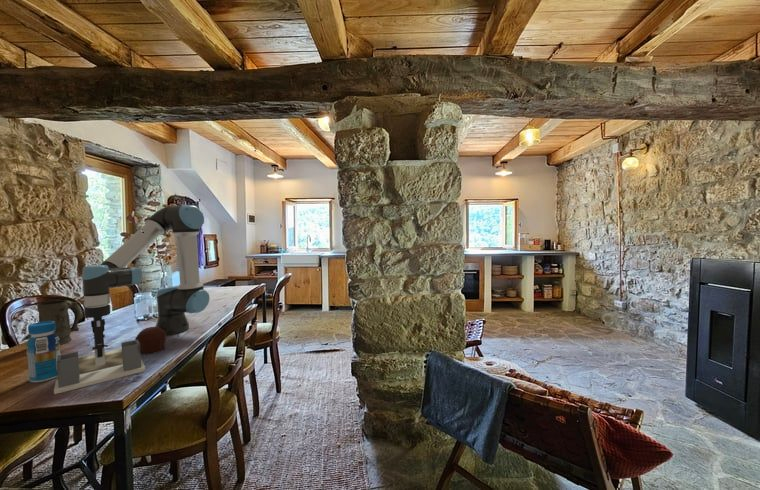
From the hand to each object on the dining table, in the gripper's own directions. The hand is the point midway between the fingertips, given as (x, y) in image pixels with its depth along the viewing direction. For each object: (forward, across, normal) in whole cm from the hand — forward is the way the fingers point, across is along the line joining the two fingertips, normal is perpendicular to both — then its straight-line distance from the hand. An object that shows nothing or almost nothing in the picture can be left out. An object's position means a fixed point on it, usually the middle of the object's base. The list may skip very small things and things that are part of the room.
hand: (99, 360), depth 123 cm
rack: (+3, +12, 0) cm, 12 cm away
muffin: (+3, -6, +17) cm, 19 cm away
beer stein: (+3, -52, -13) cm, 54 cm away
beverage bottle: (+3, -2, -15) cm, 15 cm away
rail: (+3, 0, 0) cm, 3 cm away
